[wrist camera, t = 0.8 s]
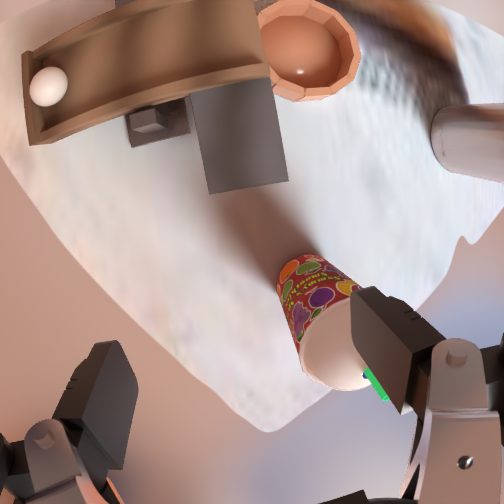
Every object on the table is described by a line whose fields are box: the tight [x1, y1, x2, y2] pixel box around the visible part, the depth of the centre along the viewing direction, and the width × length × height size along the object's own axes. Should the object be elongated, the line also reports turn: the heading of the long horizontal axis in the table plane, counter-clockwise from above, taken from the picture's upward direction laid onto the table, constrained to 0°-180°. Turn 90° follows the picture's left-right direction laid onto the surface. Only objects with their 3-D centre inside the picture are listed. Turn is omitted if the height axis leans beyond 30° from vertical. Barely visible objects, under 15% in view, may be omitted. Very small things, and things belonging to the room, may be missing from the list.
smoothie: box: [277, 254, 390, 401], centre depth 26 cm, size 8×8×20 cm
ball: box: [29, 67, 68, 106], centre depth 19 cm, size 4×4×4 cm
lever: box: [22, 0, 289, 195], centre depth 21 cm, size 20×17×5 cm
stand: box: [115, 0, 190, 148], centre depth 23 cm, size 6×14×8 cm, turn 10°
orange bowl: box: [257, 0, 361, 102], centre depth 26 cm, size 11×11×4 cm
